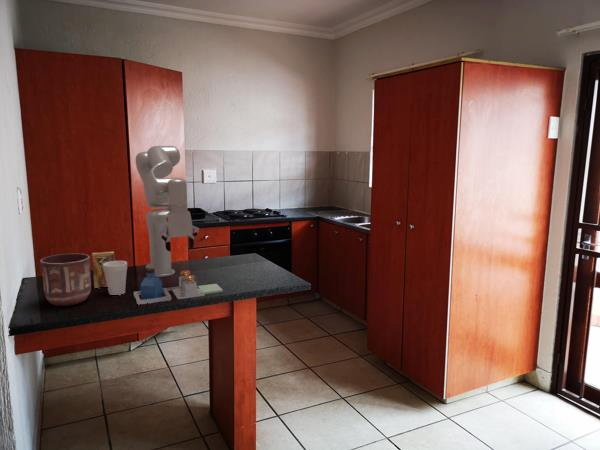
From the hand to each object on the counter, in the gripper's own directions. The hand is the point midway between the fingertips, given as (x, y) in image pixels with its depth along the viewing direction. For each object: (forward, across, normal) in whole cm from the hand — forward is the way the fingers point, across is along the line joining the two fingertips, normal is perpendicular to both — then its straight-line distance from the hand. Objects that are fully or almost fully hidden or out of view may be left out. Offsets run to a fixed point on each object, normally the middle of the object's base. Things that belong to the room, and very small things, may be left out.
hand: (180, 249), depth 194 cm
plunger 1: (+17, +2, 0) cm, 17 cm away
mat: (+18, +10, -4) cm, 21 cm away
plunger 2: (+17, +1, -8) cm, 19 cm away
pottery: (+19, -42, +12) cm, 47 cm away
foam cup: (+19, -23, +13) cm, 33 cm away
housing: (+18, -6, -2) cm, 20 cm away
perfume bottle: (+19, -13, -1) cm, 23 cm away
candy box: (+18, -25, +26) cm, 41 cm away
